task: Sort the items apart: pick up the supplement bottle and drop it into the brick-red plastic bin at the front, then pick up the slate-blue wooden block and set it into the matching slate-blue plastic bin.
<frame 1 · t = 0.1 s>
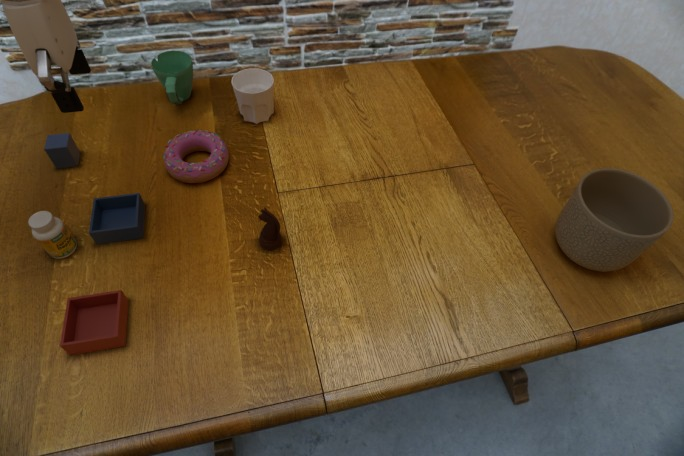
hand: (77, 91, 73), 31 cm above the table, tool pointing down, fingers open, 9 cm apart
blue bin: (121, 224, 96), on the table
supplement bottle: (63, 248, 92), on the table
red bin: (100, 326, 82), on the table
mug: (180, 101, 120), on the table
planter: (586, 247, 97), on the table
donut: (198, 164, 107), on the table
cup: (257, 113, 119), on the table
blue block: (68, 160, 106), on the table
chess piece: (271, 242, 95), on the table
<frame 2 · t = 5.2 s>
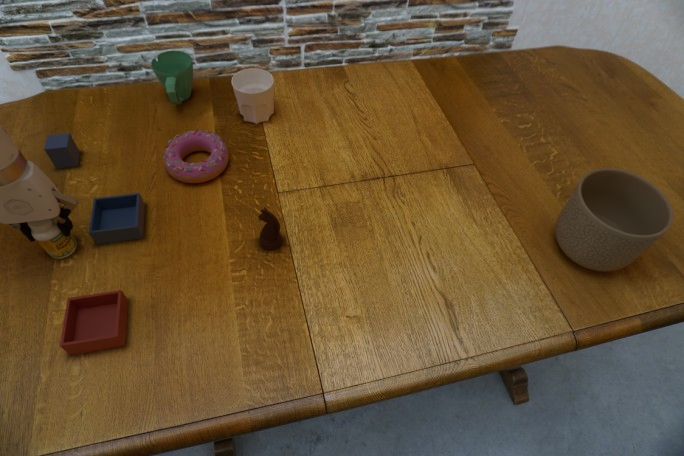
hand: (51, 232, 88), 5 cm above the table, tool pointing down, fingers closed on supplement bottle, 5 cm apart
supplement bottle: (63, 249, 92), on the table, touching gripper
everything else where it was.
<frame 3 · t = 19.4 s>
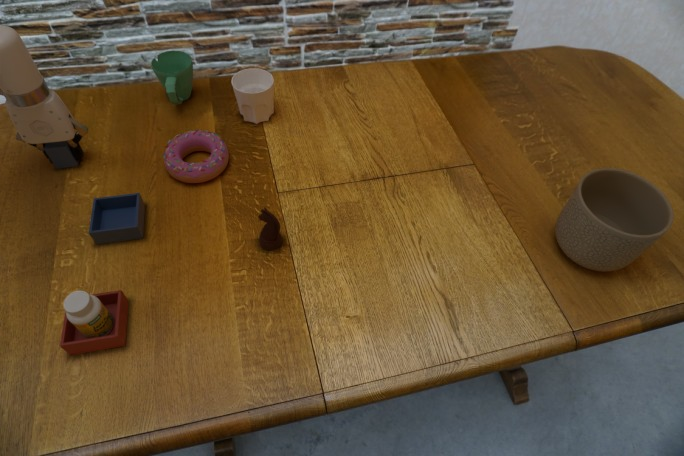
hand: (66, 157, 105), 1 cm above the table, tool pointing down, fingers closed on blue block, 4 cm apart
supplement bottle: (99, 326, 82), resting on red bin
blue block: (68, 160, 106), on the table, touching gripper
everything else where it was.
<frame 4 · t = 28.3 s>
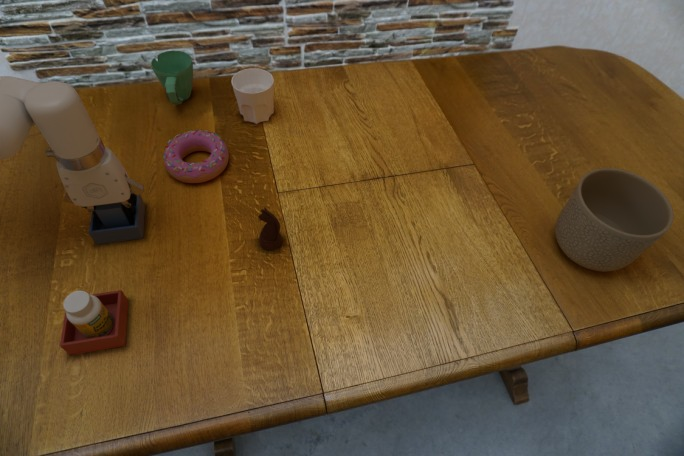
hand: (117, 216, 94), 3 cm above the table, tool pointing down, fingers closed on blue block, 4 cm apart
blue block: (119, 219, 94), point 2 cm above the table, touching gripper
everything else where it was.
when the fingers open (4 cm above the table, at t = 37.2 s): blue block drops 3 cm, resting on blue bin.
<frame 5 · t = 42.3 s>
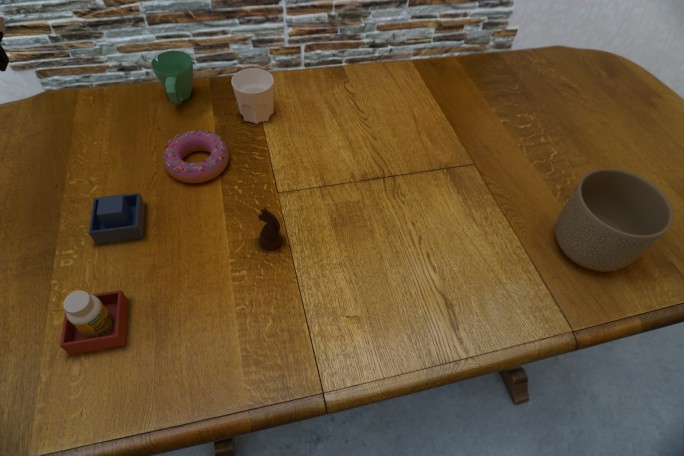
blue block: (120, 222, 95), resting on blue bin
everything else where it was.
at the end: supplement bottle inside the target area in the red bin (0.2 cm from its centre), point 0.3 cm above the red bin's base; blue block inside the target area in the blue bin (0.1 cm from its centre), point 0.5 cm above the blue bin's base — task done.
